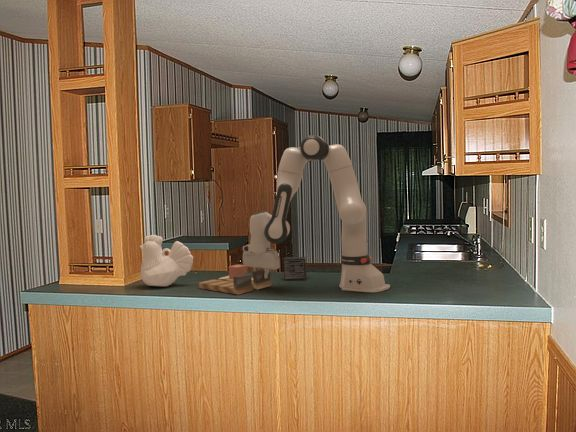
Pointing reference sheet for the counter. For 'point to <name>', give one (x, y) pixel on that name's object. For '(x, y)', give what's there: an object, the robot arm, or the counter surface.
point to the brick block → (237, 270)
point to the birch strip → (255, 286)
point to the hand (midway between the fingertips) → (261, 277)
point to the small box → (294, 268)
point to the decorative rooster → (163, 262)
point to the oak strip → (230, 285)
